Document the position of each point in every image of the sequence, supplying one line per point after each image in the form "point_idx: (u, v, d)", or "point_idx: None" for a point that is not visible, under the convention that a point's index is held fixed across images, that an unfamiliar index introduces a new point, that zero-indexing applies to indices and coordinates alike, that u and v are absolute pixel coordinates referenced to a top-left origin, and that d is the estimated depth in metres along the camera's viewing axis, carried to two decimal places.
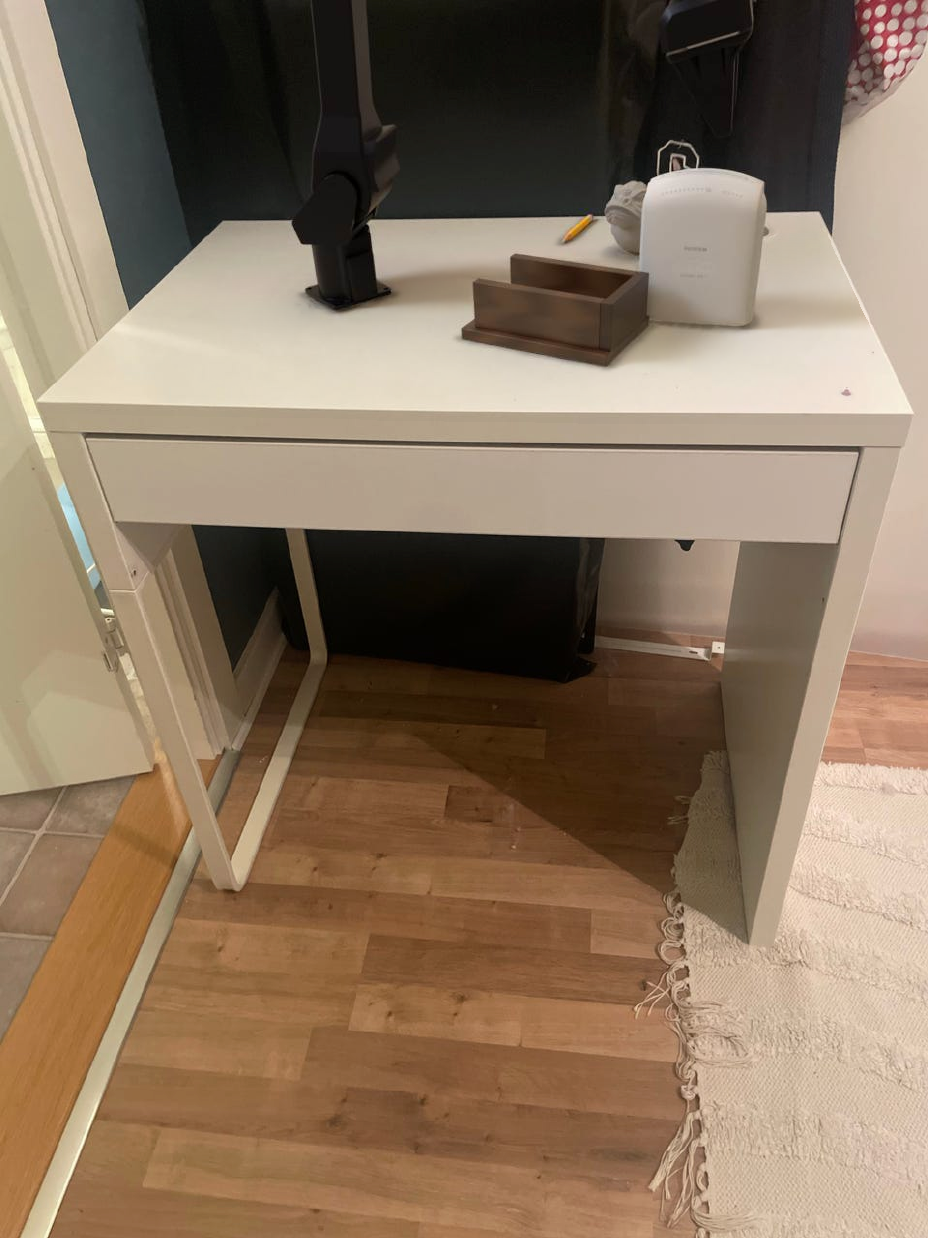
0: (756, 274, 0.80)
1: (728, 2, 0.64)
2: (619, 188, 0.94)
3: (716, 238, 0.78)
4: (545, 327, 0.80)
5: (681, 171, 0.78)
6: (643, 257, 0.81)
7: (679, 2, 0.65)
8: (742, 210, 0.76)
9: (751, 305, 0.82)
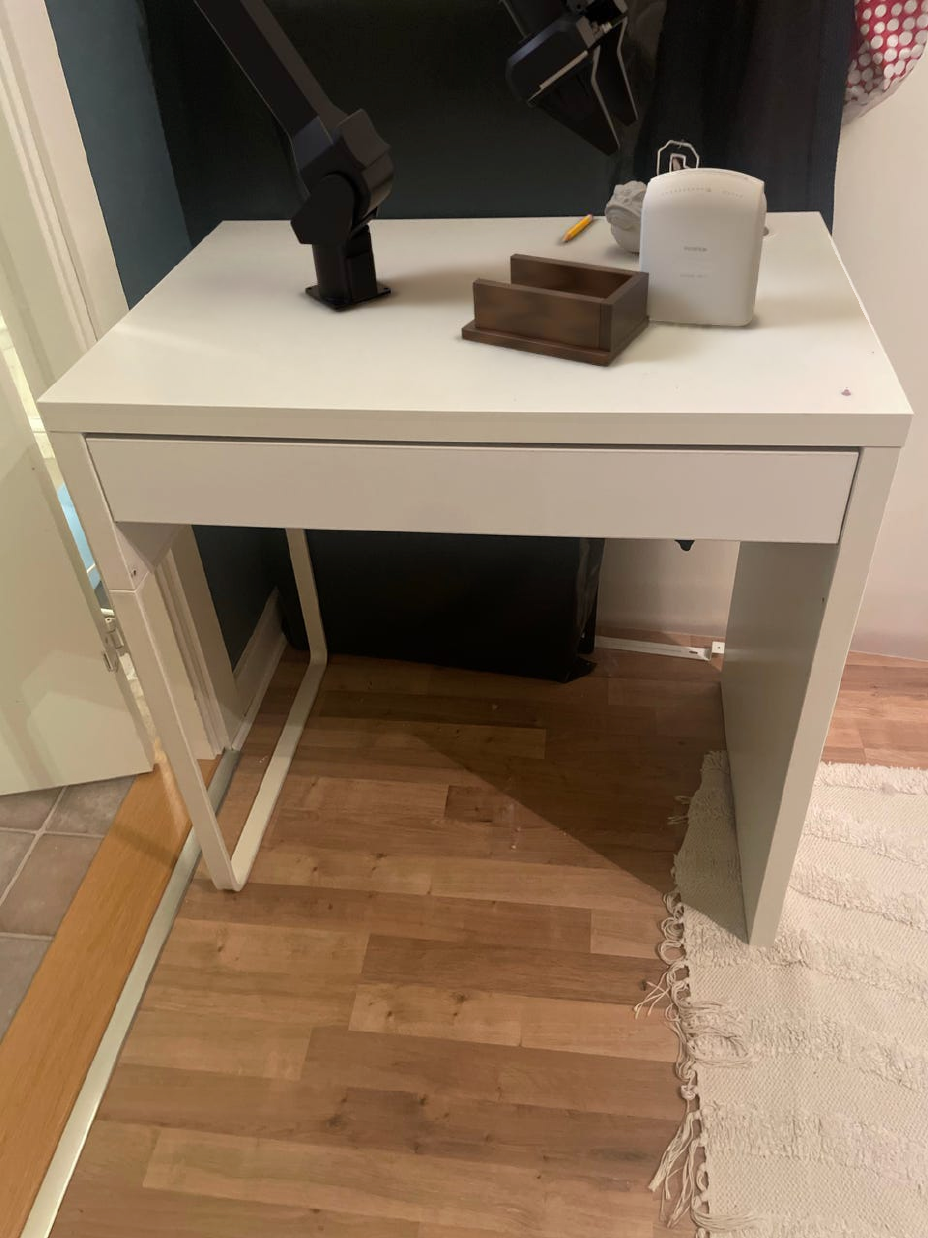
0: (756, 274, 0.80)
1: (557, 36, 0.67)
2: (619, 188, 0.94)
3: (716, 238, 0.78)
4: (545, 327, 0.80)
5: (681, 171, 0.78)
6: (643, 257, 0.81)
7: (516, 53, 0.68)
8: (742, 210, 0.76)
9: (751, 305, 0.82)
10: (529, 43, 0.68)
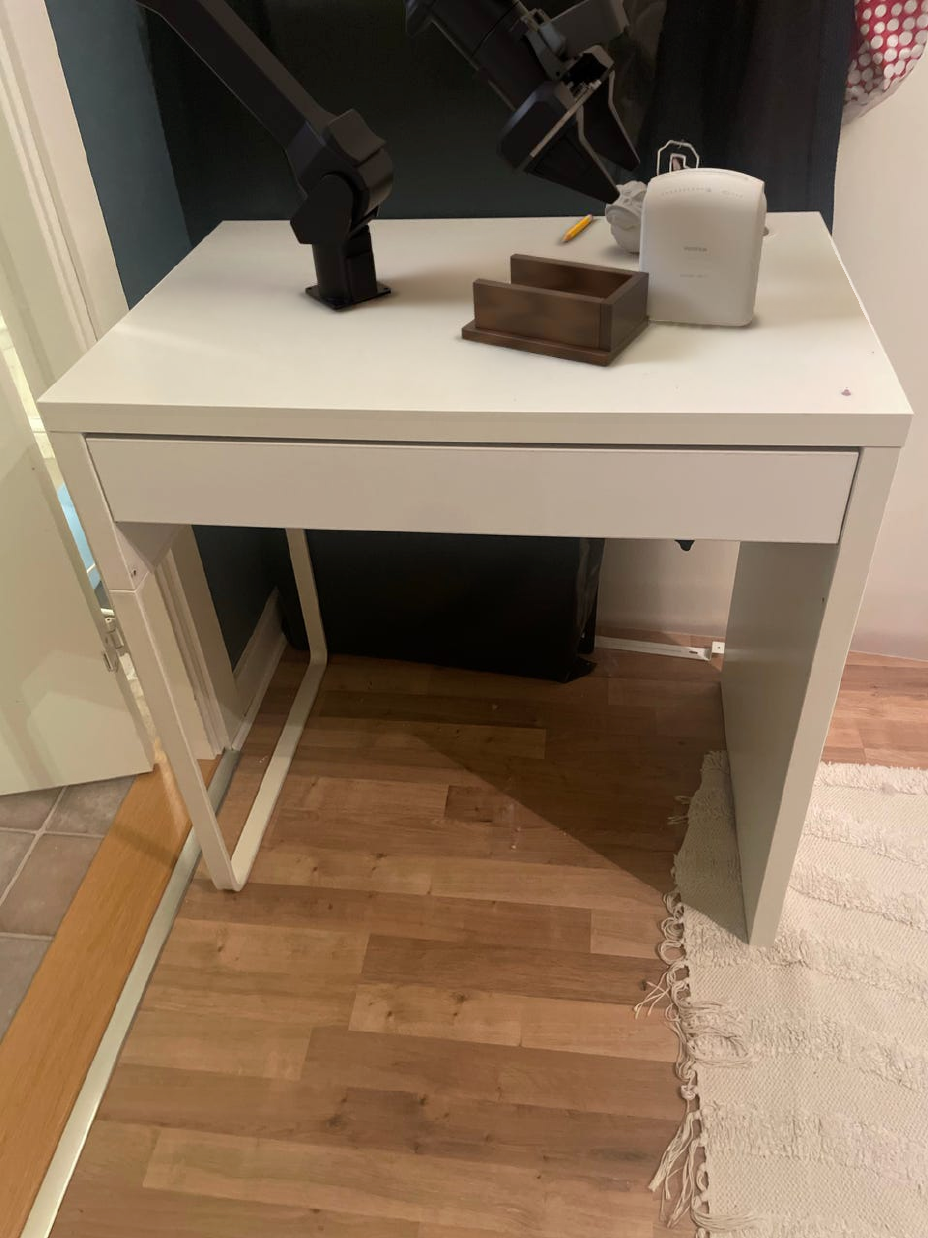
0: (756, 274, 0.80)
1: (536, 106, 0.69)
2: (619, 188, 0.94)
3: (716, 238, 0.78)
4: (545, 327, 0.80)
5: (681, 171, 0.78)
6: (643, 257, 0.81)
7: (502, 129, 0.72)
8: (742, 210, 0.76)
9: (751, 305, 0.82)
10: (512, 118, 0.71)
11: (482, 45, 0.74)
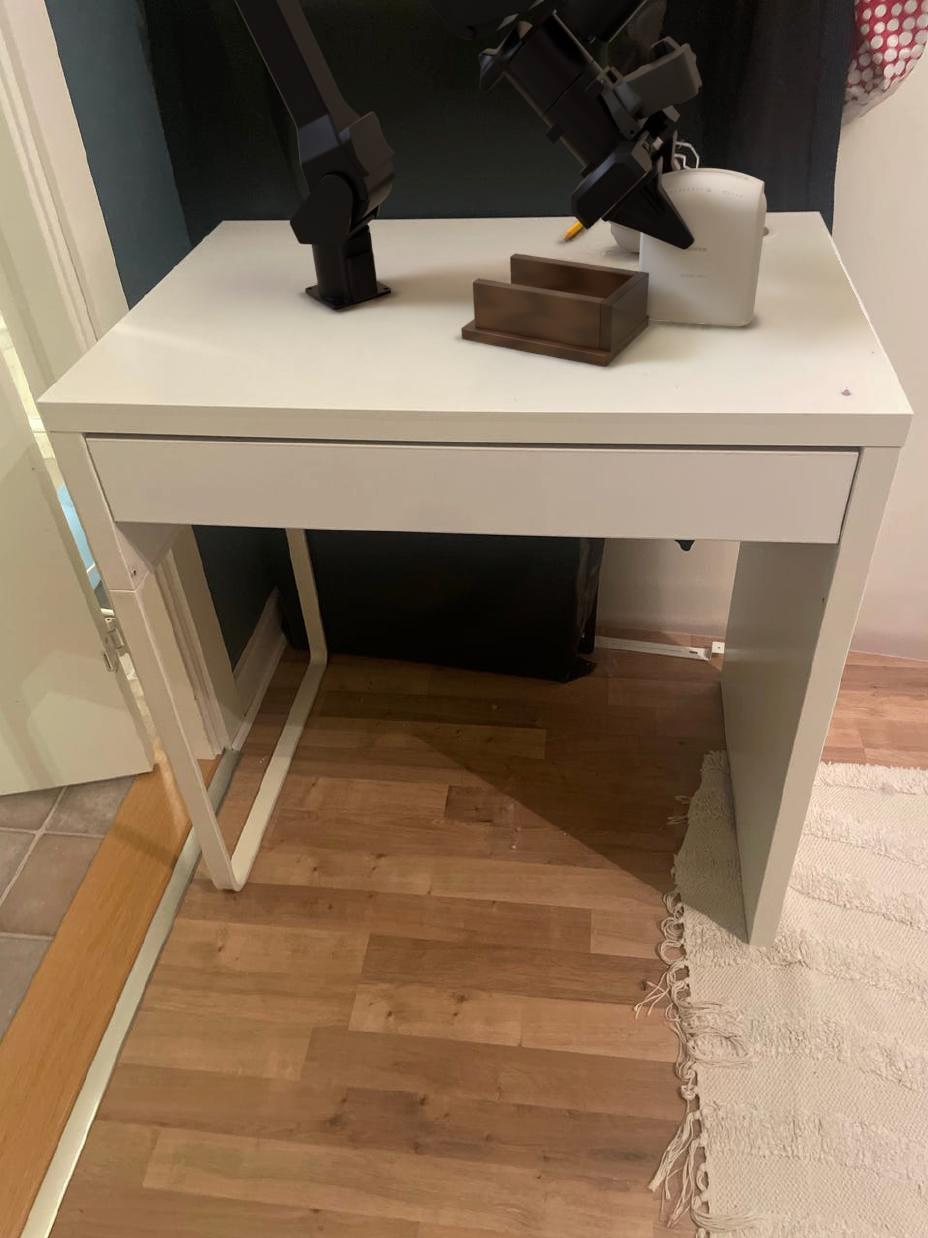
0: (756, 274, 0.80)
1: (615, 168, 0.70)
2: None
3: (716, 238, 0.78)
4: (545, 327, 0.80)
5: (681, 171, 0.78)
6: (643, 257, 0.81)
7: (578, 188, 0.73)
8: (742, 210, 0.76)
9: (751, 305, 0.82)
10: (589, 178, 0.72)
11: (557, 103, 0.75)
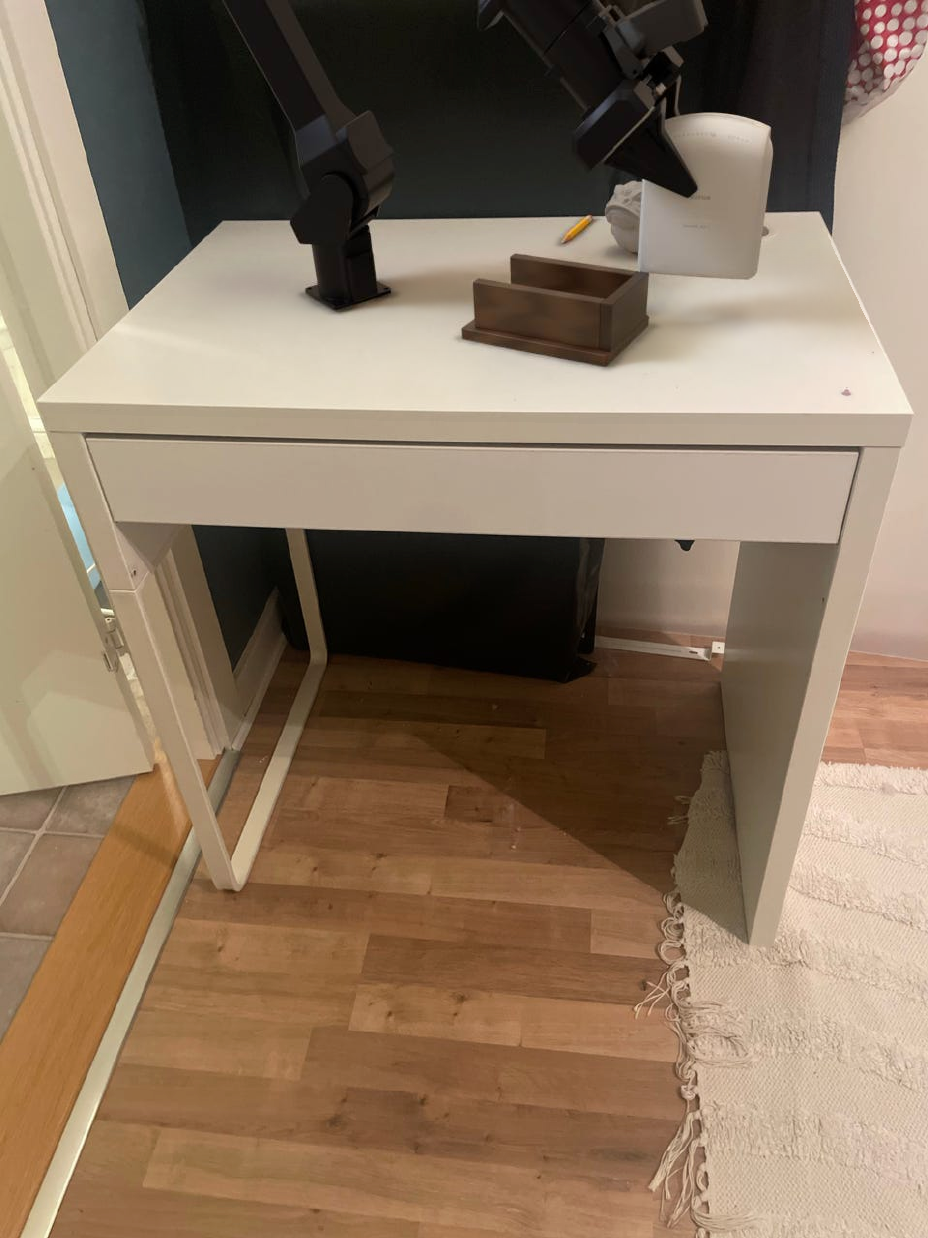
0: (761, 225, 0.78)
1: (617, 106, 0.68)
2: (619, 188, 0.94)
3: (720, 186, 0.76)
4: (545, 327, 0.80)
5: (685, 116, 0.75)
6: (645, 207, 0.79)
7: (579, 128, 0.70)
8: (747, 155, 0.74)
9: (755, 258, 0.79)
10: (590, 117, 0.69)
11: (557, 41, 0.72)
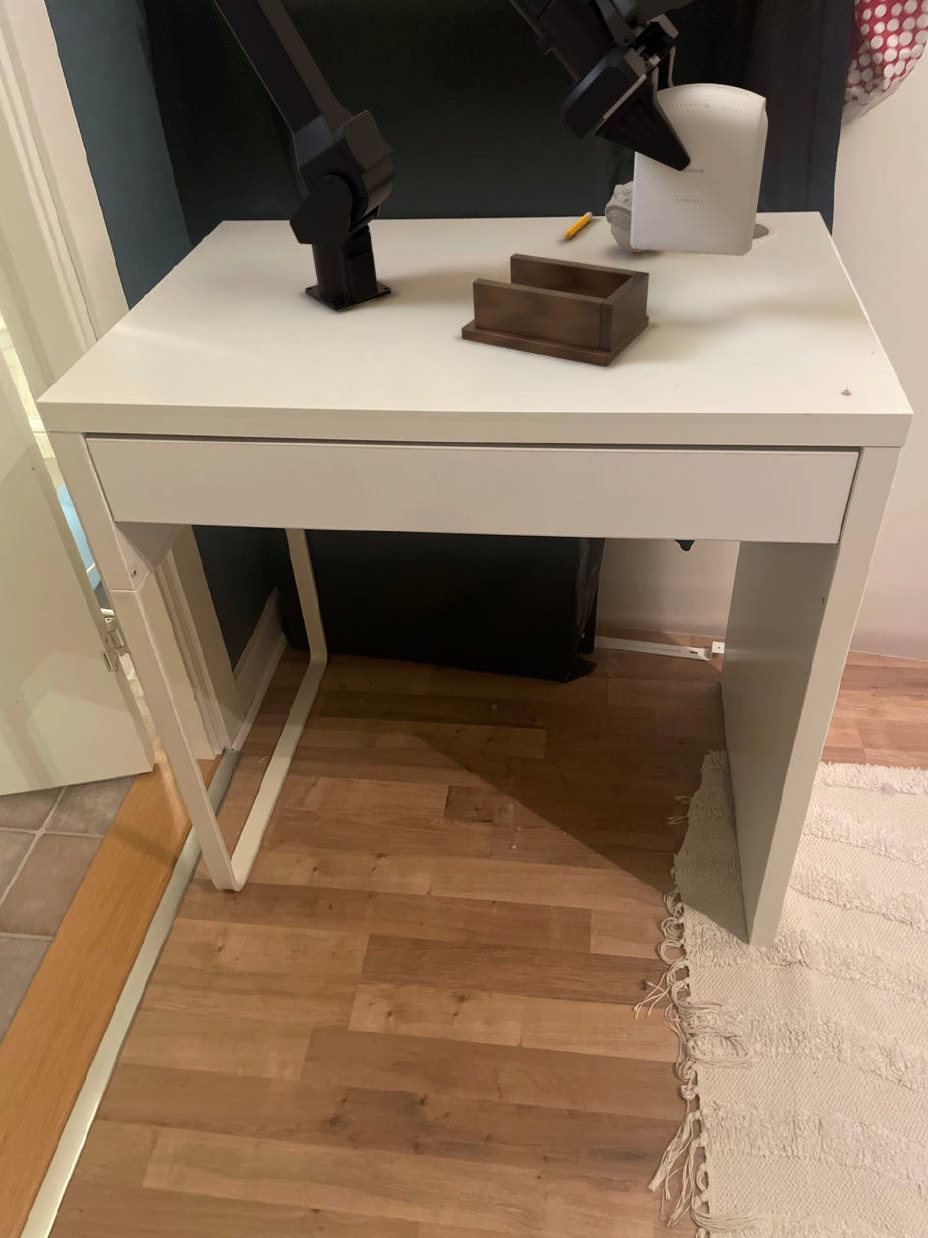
0: (755, 199, 0.76)
1: (606, 73, 0.66)
2: (619, 188, 0.94)
3: (714, 158, 0.74)
4: (545, 327, 0.80)
5: (678, 87, 0.74)
6: (637, 180, 0.77)
7: (568, 96, 0.69)
8: (741, 127, 0.72)
9: (750, 233, 0.78)
10: (580, 85, 0.68)
11: (548, 9, 0.71)
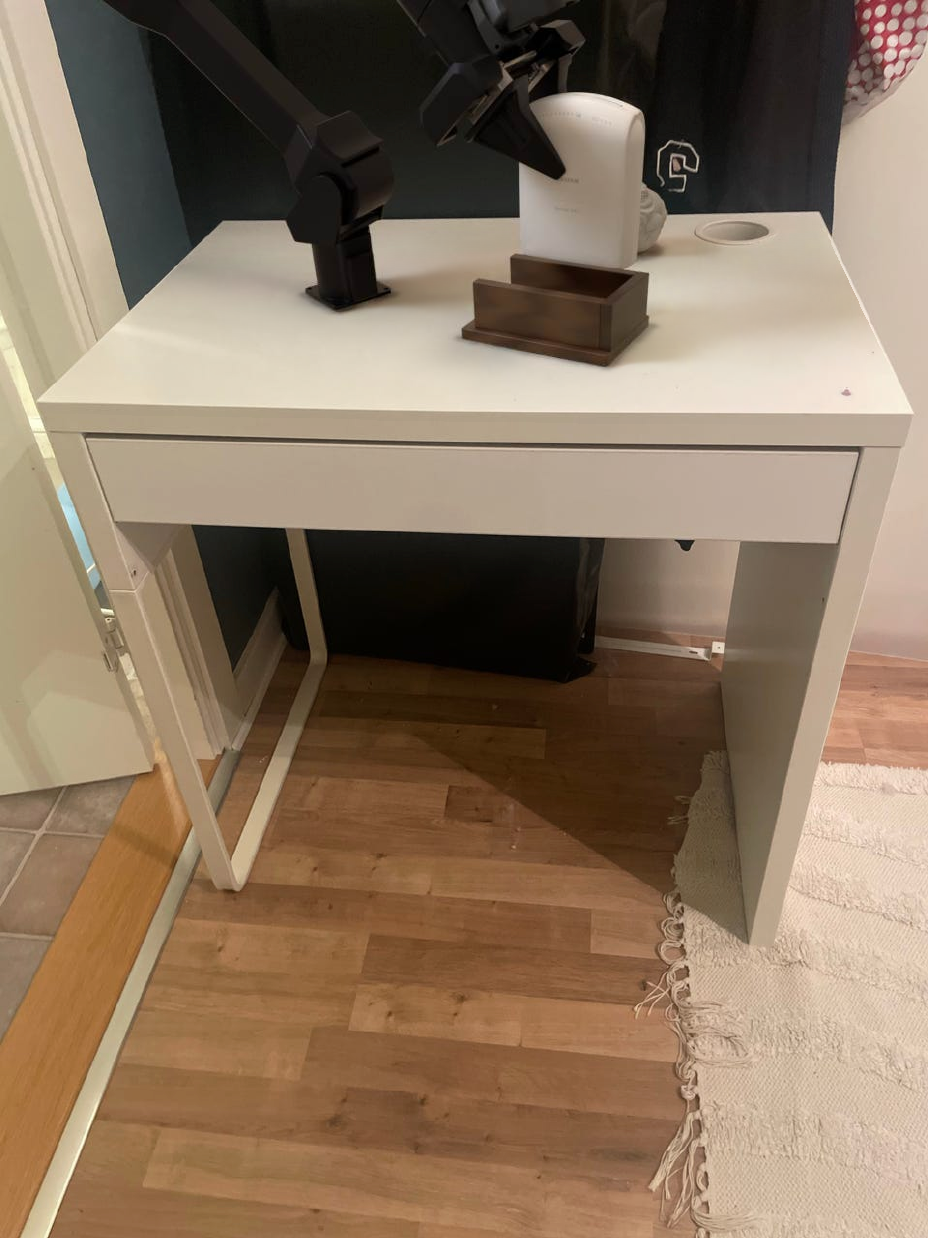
0: (633, 213, 0.75)
1: (454, 79, 0.67)
2: None
3: (587, 169, 0.73)
4: (545, 327, 0.80)
5: (559, 95, 0.73)
6: (520, 186, 0.77)
7: (425, 100, 0.69)
8: (610, 139, 0.71)
9: (629, 247, 0.76)
10: (434, 89, 0.68)
11: (425, 12, 0.71)
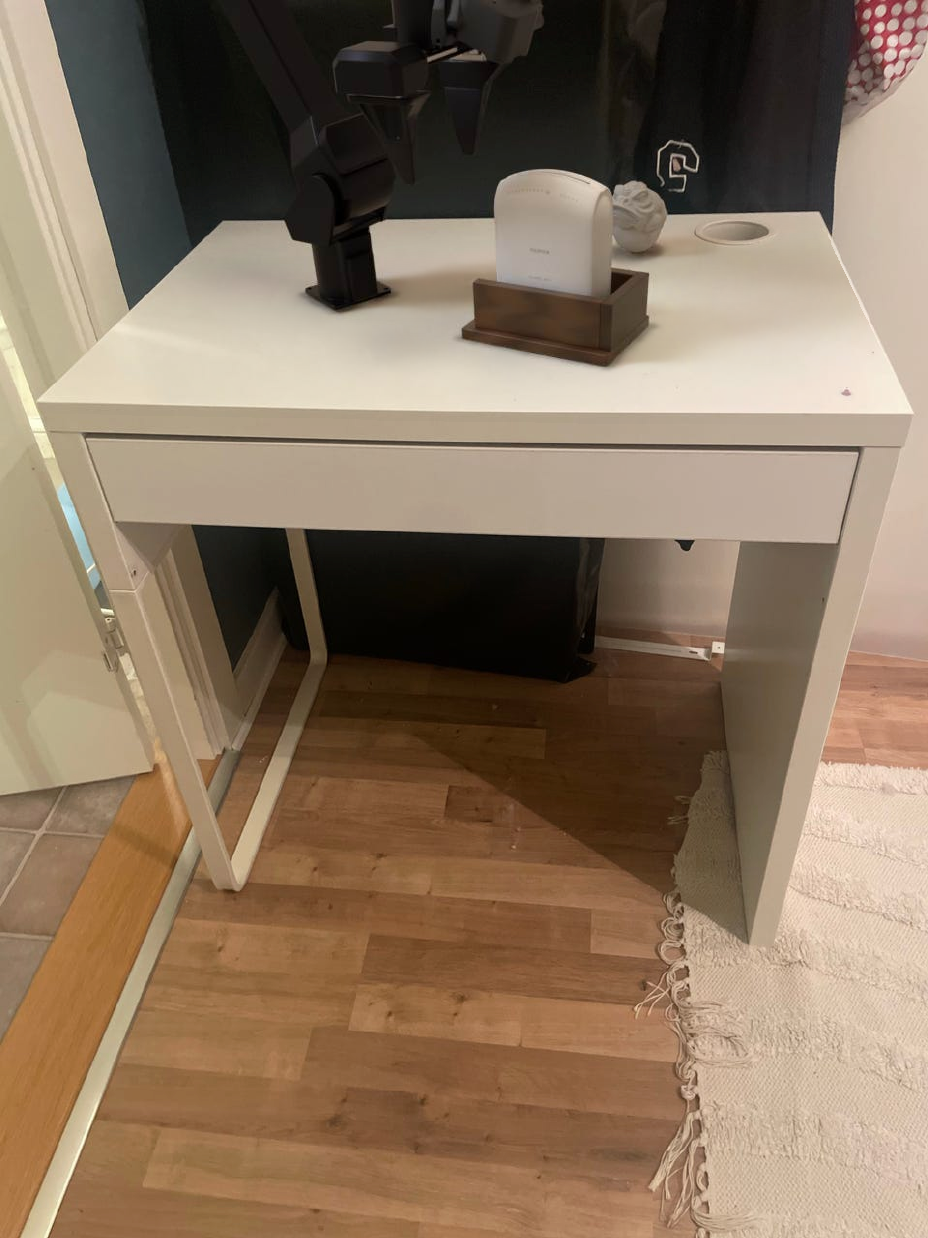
0: (602, 282, 0.78)
1: (381, 67, 0.67)
2: (619, 188, 0.94)
3: (557, 242, 0.77)
4: (545, 327, 0.80)
5: (532, 171, 0.77)
6: (497, 255, 0.81)
7: (348, 50, 0.68)
8: (577, 215, 0.74)
9: None
10: (361, 52, 0.68)
11: None
